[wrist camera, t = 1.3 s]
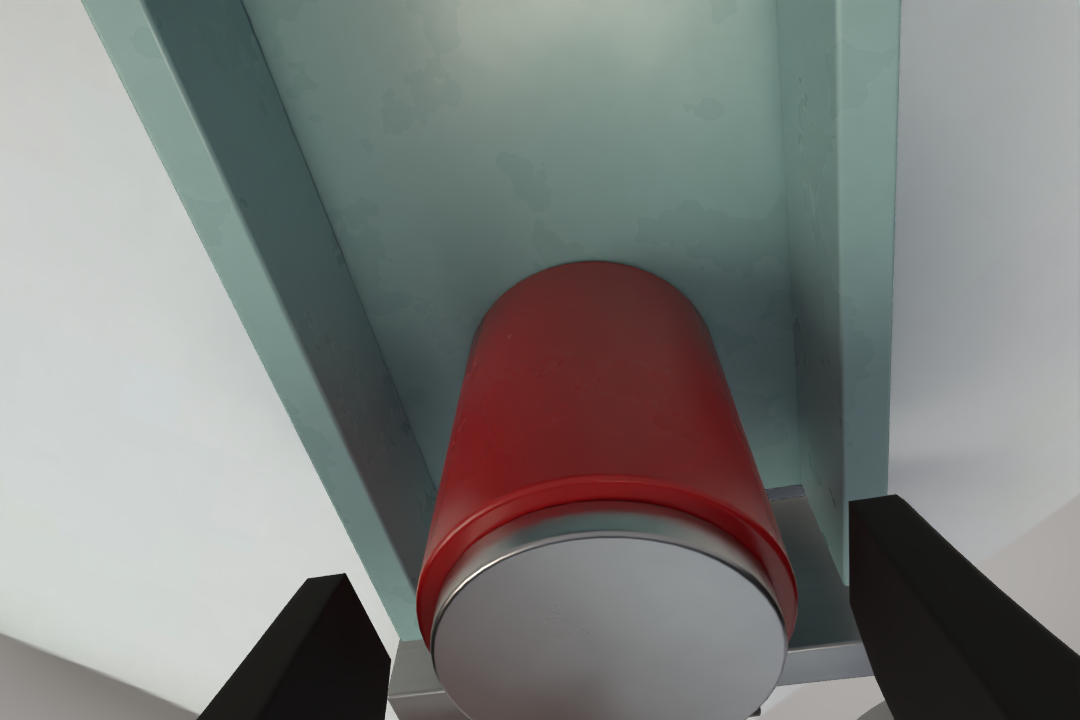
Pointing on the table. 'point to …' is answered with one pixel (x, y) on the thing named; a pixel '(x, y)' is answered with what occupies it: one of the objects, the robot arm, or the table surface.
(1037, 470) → the table surface
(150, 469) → the table surface
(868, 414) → the drawer
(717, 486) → the can
